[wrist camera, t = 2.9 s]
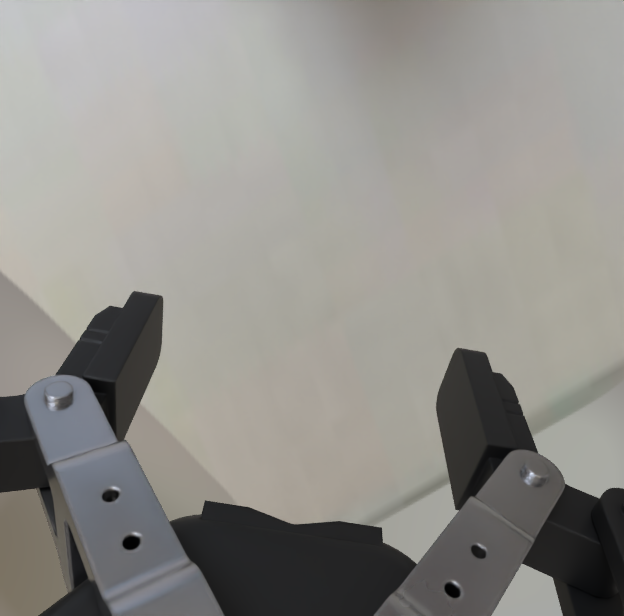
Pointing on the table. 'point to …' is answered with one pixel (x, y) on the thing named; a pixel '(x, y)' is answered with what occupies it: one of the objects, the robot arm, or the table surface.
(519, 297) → the table surface
